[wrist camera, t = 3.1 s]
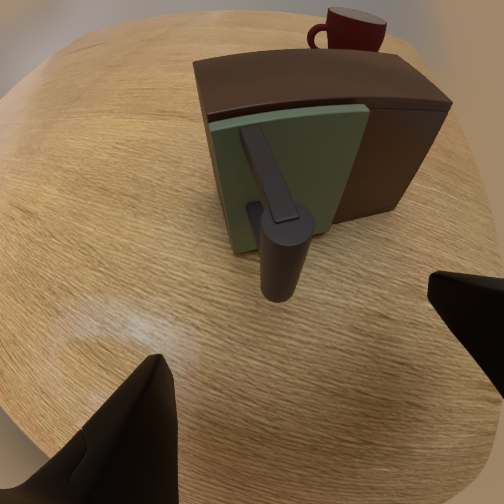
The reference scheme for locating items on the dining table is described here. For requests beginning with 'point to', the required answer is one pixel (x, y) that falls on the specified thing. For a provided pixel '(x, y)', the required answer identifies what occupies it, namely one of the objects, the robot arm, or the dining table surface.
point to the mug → (350, 30)
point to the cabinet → (335, 93)
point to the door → (284, 182)
